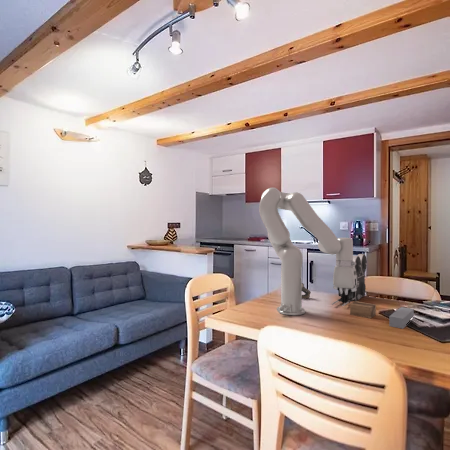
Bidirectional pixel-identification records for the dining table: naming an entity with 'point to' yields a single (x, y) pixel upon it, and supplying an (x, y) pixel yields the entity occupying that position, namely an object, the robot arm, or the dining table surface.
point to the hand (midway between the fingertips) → (344, 302)
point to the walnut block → (363, 309)
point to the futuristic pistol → (307, 292)
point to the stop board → (401, 317)
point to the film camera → (360, 269)
